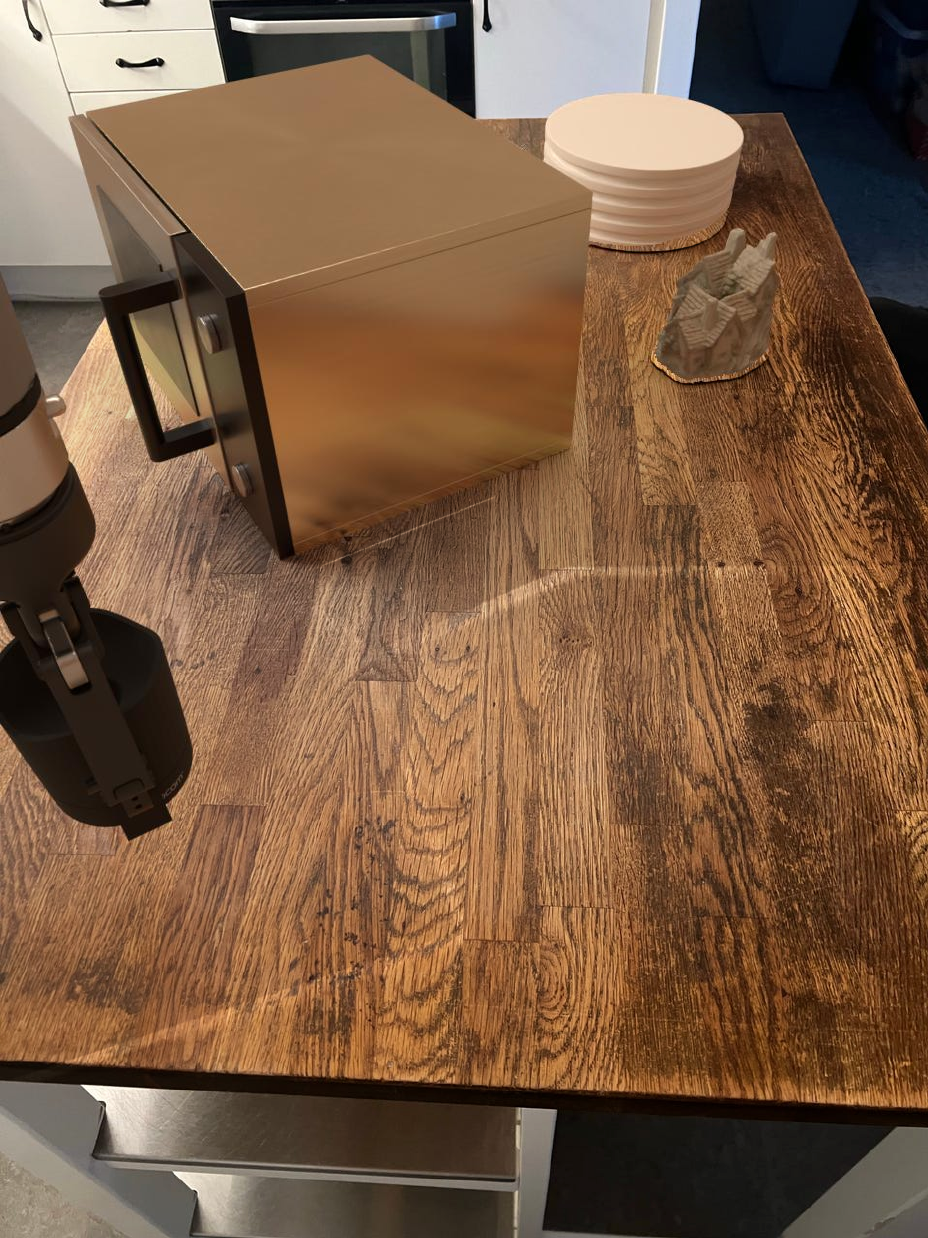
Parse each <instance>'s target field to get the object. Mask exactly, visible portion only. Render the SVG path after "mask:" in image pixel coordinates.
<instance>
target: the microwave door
mask: <svg viewBox="0 0 928 1238" xmlns="http://www.w3.org/2000/svg"><path fill="white" fill-rule="evenodd" d="M68 121H69V126H70V129H71V132H72V136H73V138H74V139H73V140H74V142H75V145H76V146H75V147H76V148H77V152H78V156H79V159H80V162H81V165H82V170H83V172H84V173H83V174H84V176H85V179H86V183H87V187H88V190H89V193H90V196H91V200H92V203H93V207H94V210H95V213H96V216H97V219H98V224H99V227H100V229H101V233H102V237H103V240H104V245H105V247H106V250H107V254H108V257H109V261H110V264H111V268H112V270H113V275H114V277H115V281H116V284H112V285H108V286H105V287H103V288H101V289H100V290H99V291H98V293H97V295H98V299H99V301H100V304H101V307H102V311H103V315H104V318H105V320H106V323H107V327H108V330H109V333H110V336H111V339H112V343H113V346H114V349H115V352H116V355H117V359H118V362H119V365H120V368H121V372H122V375H123V378H124V381H125V384H126V387H127V391H128V394H129V396H130V399H131V403H132V407H133V410H134V413H135V416H136V419H137V422H138V426H139V429H140V432H141V435H142V439H143V442H144V445H145V447H146V452H147V454H148V457H149V460H150V461H151V462H153V463H164V462H167V461H170V460H174V459H175V458H179V457H182V456H184V455H188V454H191V453H193V452H196V451H200V450H202V451H203V452H204V454H205V455H206V456H207V458H208V460H209V461H210V463H211V465H212V466H213V467H214V469H215V471H217V473H218V475H219V476H220V477H221V479H222V480H223V482H224V483H225V485H226V486H227V488H228V489H229V491H230V492H235V491H234V487H233V483H232V479H231V475H230V471H229V466H228V462H227V458H226V454H225V450H224V446H223V442H222V437H221V433H220V429H219V425H218V421H217V417H216V412H215V408H214V404H213V400H212V396H211V392H210V388H209V383H208V379H207V375H206V371H205V367H204V363H203V359H202V354H201V350H200V346H199V342H198V338H197V334H196V329H195V325H194V321H193V317H192V313H191V309H190V305H189V300H188V296H187V292H186V288H185V284H184V280H183V275H182V271H181V267H180V263H179V259H178V255H177V251H176V246H175V242H174V237H176V236H180V235H184V234H187V231H186V230H185V229H184V228H183V226H182V225H181V224H180V223H179V222H178V221H177V220H176V219H175V217H174V216H173V215H172V214H171V213H170V212H169V211H168V210H167V208H166V207H165V206H164V205H163V204H162V203H161V202H160V200H159V199H158V198H157V197H156V196H155V195H154V194H153V193H152V191H151V190H150V189H149V188H148V187H147V186H146V185H145V183H144V182H143V181H142V180H141V179H140V178H139V177H138V176H137V174H136V173H135V172H134V171H133V170H132V169H131V168H130V166H129V165H128V164H127V163H126V162H125V161H124V160H123V159H122V157H121V156H120V155H119V154H118V153H117V152H116V151H115V149H114V148H113V147H112V146H111V145H110V144H109V143H108V142H107V140H106V139H105V138H104V137H103V136H102V135H101V134H100V132H99V131H98V130H97V129H96V128H95V127H94V126H93V125H92V123H91V122H90V121H89V120H88V119H87V116H86V115H85V114H84V113H80V114H74V115H70V116H68ZM141 357H142V358H141ZM142 359H143V360H142ZM143 361H144V362H145V363H144V362H143ZM145 364H146V365H147V366H146V365H145ZM144 365H145V366H146V368H147V367H148V368H147V369H148V370H149V372H150V374H151V375H152V377H153V378H154V379H155V381H156V383H157V384H158V385H159V387H160V388H161V390H162V392H163V393H164V394H165V396H166V397H167V399H168V401H169V402H170V403H171V404H172V406H173V408H174V409H175V411H176V412H177V414H178V415H179V416H180V418H181V420H182V421H183V423H184V425H181V426H177V427H174V428H172V429H169V430H166V431H164V429H163V426H162V423H161V419H160V417H159V413H158V410H157V406H156V403H155V399H154V396H153V392H152V389H151V385H150V382H149V379H148V376H147V372H146V368H145V366H144Z"/></svg>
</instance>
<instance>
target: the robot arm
mask: <svg viewBox="0 0 928 1238" xmlns="http://www.w3.org/2000/svg"><path fill="white" fill-rule="evenodd" d="M36 367H37V366H36V365H35V361H34V359H33V356H32V353H31V351H30V348H29V345H28V343H27V340H26V337H25V334H24V332H23V329H22V327H21V324H20V321H19V318H18V316H17V313H16V310H15V307H14V305H13V302H12V299H11V297H10V295H9V291H8V288H7V286H6V284H5V281H4V277H3V275H2V272H1V271H0V602H1V603H0V615H1V617H2V619H3V621H4V623H5V625H6V627H7V629H8V632H9V633H10V634H11V636H12V637H13V638H15V637H16V638H18V639H19V640H20V641H21V644H22V646H23V648H24V650H25V652H26V654H27V656H28V658H29V660H30V662H31V664H32V666H33V669H34V671H35V673H36V675H37V676H38V678H39V679H41V680H42V681H46V682H47V684H48V686H49V688H50V690H51V691H52V693H53V695H54V697H55V699H56V701H57V702H58V705H59V707H60V709H61V711H62V713H63V715H64V717H65V719H66V721H67V723H68V725H69V727H70V729H71V731H72V733H73V735H74V737H75V739H76V741H77V743H78V745H79V747H80V749H81V751H82V753H83V755H84V757H85V759H86V761H87V763H88V765H89V767H90V769H91V771H92V773H93V775H94V776H92V777H89V778H87V779H85V780H83V782H84V785H85V789H86V791H87V793H88V795H90V794H93V793H95V792H97V791H99V790H101V793H100V795H101V797H102V799H103V801H104V802H106V804H107V806H108V805H109V807H111V809H112V810H113V812H114V814H115V816H116V818H117V820H118V822H119V824H120V826H119V827H120V828H121V829H122V831H123V834H124V835H125V837H126V839H127V841H128V842H131V841H132V840H134V839H137V838H139V837H141V836H143V835H146V834H148V833H150V832H152V831H154V830H156V829H158V828H160V827H162V826H165V825H166V824H169V823H170V822H173V818H172V815H171V813H170V810H169V808H168V806H167V804H165V802H164V799H163V797H162V795H161V793H160V790H159V788H158V786H157V784H156V781H155V778H154V776H153V774H152V771H151V770H150V768H149V766H148V763H147V761H146V759H145V756H144V754H143V752H142V750H141V748H140V749H138V748H137V745H136V743H135V741H134V739H133V736H132V734H131V732H130V730H129V727H128V725H127V723H126V721H125V718H124V716H123V714H122V712H121V710H120V707H119V705H118V703H117V701H116V698H115V696H114V694H113V692H112V689H111V687H110V685H109V683H108V681H107V678H106V676H105V674H104V672H103V669H102V667H101V665H100V662H101V660H102V659H103V657H104V656H105V649H104V646H103V644H102V642H101V640H100V637H99V635H98V633H97V631H96V628H95V626H94V624H93V621H92V619H91V617H90V615H89V610H90V608H91V601H90V600H89V597H88V594H87V592H86V590H85V587H84V586H83V583H82V581H81V579H80V576H79V575H75V574H76V570H75V569H76V568H77V567H78V566H79V565H80V564H81V563H82V562H83V561H84V559H85V558H86V556H87V555H88V554H89V552H90V551H91V548H92V546H93V544H94V542H95V539H96V532H97V523H96V518H95V515H94V513H93V509H92V507H91V504H90V502H89V499H88V497H87V495H86V492H85V489H84V487H83V484H82V482H81V479H80V477H79V474H78V471H77V469H76V467H75V465H74V464H73V463H72V462H71V461H70V455H69V451H68V449H67V446H66V444H65V441H64V439H63V436H62V434H61V431H60V428H59V426H58V424H57V422H56V421H55V419H54V418H57V417H60V416H62V415H64V414H65V413H66V412H67V404H66V402H65V400H64V398H63V397H61V396H60V395H59V394H58V393H51V394H48V395H46V392H45V390H44V388H43V386H42V383H41V380H40V377H39V375H38V372H37V368H36ZM79 619H80V620H81V623H82V625H83V627H84V629H85V632H86V634H87V636H88V640H87V642H85V643H82V644H79V645H77V646H75V648H74V645H73V643H75V642H77V641H78V640H79V639H80V637H81V636H83V635H82V629H81V626H80V623H79V621H78V620H79ZM34 641H35V642H36V643H37V645H38V646H39V647H40V648H41V649H43V650H45V651H53V654H54V656H53V655H52V656H49V657H46V658H44V657H42V656H41V655H40V653H39V651H38V649H37V646H36V644H35V642H34Z"/></svg>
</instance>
